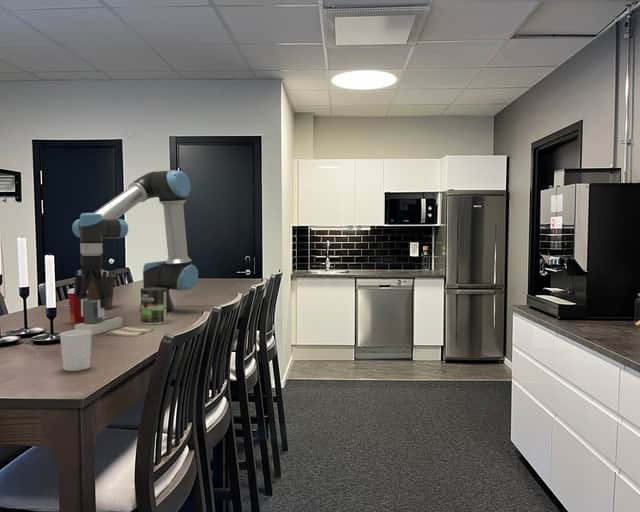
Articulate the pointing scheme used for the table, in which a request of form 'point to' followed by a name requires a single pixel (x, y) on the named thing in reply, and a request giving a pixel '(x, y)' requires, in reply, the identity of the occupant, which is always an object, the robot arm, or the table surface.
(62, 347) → the white cup
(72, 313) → the paper cup
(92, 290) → the plant pot
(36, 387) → the table surface
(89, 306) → the block
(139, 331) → the birch pad
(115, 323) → the power strip
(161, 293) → the coffee can
